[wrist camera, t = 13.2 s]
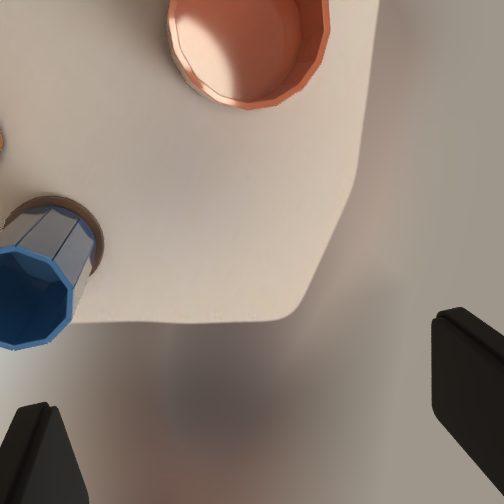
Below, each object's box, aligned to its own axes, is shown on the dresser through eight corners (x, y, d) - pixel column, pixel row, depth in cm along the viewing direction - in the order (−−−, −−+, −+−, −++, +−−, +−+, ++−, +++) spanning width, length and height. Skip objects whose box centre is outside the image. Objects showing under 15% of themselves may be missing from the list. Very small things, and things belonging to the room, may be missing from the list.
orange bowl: (153, -38, 34) (152, -64, 28) (296, -54, 35) (322, -82, 30) (182, 116, 38) (185, 120, 32) (310, 96, 39) (335, 96, 33)
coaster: (-11, 205, 37) (-13, 207, 36) (90, 188, 38) (89, 189, 37) (20, 294, 40) (18, 297, 39) (114, 276, 41) (113, 278, 40)
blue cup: (-5, 214, 37) (-68, 259, 26) (85, 198, 38) (58, 236, 27) (22, 290, 39) (-27, 359, 29) (106, 274, 40) (88, 335, 30)
